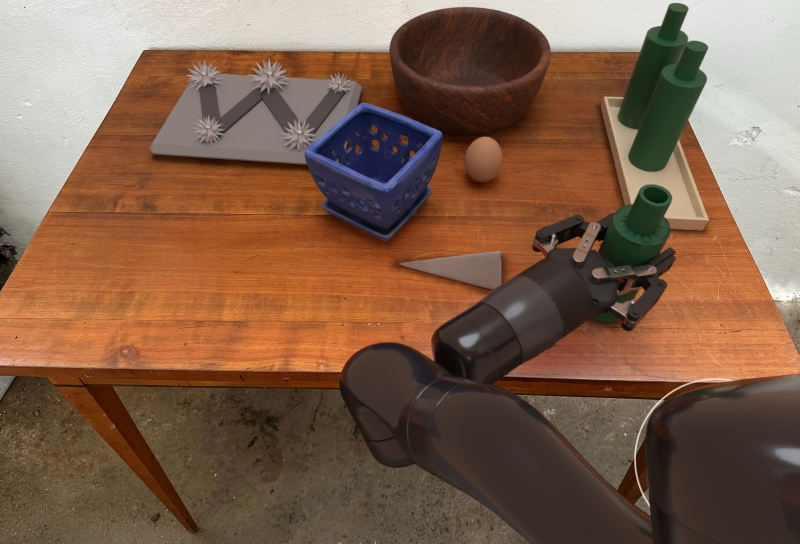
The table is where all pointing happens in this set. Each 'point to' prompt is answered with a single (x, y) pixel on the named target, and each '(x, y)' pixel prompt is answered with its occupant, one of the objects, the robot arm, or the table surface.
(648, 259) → the bottle
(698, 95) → the row bottle
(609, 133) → the tray
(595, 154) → the table surface
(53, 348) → the table surface
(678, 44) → the row bottle
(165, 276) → the table surface
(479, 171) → the egg
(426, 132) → the flower pot
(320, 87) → the cassiopeia constellation model
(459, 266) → the grey triangular spike
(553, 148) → the table surface
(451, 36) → the wooden bowl
